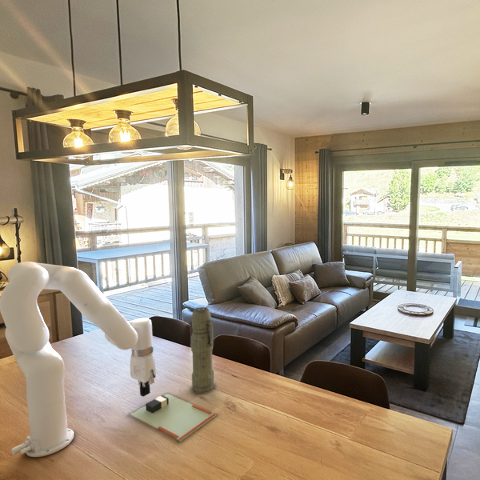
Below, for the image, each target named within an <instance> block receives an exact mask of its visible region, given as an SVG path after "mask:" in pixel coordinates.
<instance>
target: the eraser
mask: <svg viewBox="0 0 480 480" xmlns="http://www.w3.org/2000/svg"><path fill="white" fill-rule="evenodd" d="M168 404H169V400H168V398H167V397H165V396H164V394H162V395H159V396H157V397H156V398H153V399H152V400H150V401H148V402H147V403H145V406H146V410H147V411H149V412H151V413H154V412H156V411H158V410H159V409H161V408H163V407H165V406H166V405H168Z"/></svg>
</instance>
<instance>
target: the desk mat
mask: <svg viewBox="0 0 480 480" xmlns="http://www.w3.org/2000/svg"><path fill="white" fill-rule="evenodd" d="M163 396H165V397H167V398H168V400H169V404H168V405H166V406H165V407H163V408H161V409H159V410H158V411H156V412H154V413H151V412H149V411H147V410H146V405H144V406H142V407H140V408H138V409H137V410H135V411H133V412H131V413H130V416H133V417H134V418H136V419H138V420H140V421H142V422H144V423H146V424H148V425H150V426H152V427H153V428H156V429H157V430H159V431H161V432H163V433H165V434H167V435H169V436H171V437H173V439H175V440H177V441H178V442H182V441H183V440H185V439H186V438H188V437H189V436H190V435H192V434H193V433H194V432H196V431H197V430H198V429H200V428H202V427H203V426H204V425H205V424H207V423H208V422H210V421H211V420H212V419H214V418H216V417H217V414H216V413H213V412H211V411H209V410H208V409H207V410H206V409H205V408H202V407H200V406H198V405H195V404H192V403H190V402H188V401H185V400H183V399H181V398H178V397H177V396H174V395H171V394H169V393H166V394H163Z"/></svg>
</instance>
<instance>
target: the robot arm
mask: <svg viewBox="0 0 480 480" xmlns="http://www.w3.org/2000/svg"><path fill="white" fill-rule="evenodd" d="M7 280H8V282H7V285H6V286H5V287H4V288H3V290H2V292H1V293H0V314H1V317H2V320H3V322H4V325H5V327H6V328H5V330H4V335H5V339H6V341H7V344H8V345H9V348H10V350H11V353H12V355H13V357H14V359H15V361H16V363H17V365H18V367H19V369H20V370H21V372H22V373H23V375H24V378H25V381H26V383H25V384H26V392H25V393H26V394H25V395H26V406H27V413H28V415H27V416H28V425H29V435H28V436H26V440H25V441H23V442H22V443H21V444H19V445H17V446H14V447H13V448H11V451H10V452H11V454H12V456H14V455H16V454H18V453H19V454H20V455H24V454H26V456H28V457H31V458H40V457H41V458H42V457H46V456H50V455H52V454H54V453H57V452H59V451H61V450H62V449H64V448H65V447H67V446H69V444H70V443H71V442H72V441H73V439H74V437H75V433H74V430H73V429H71V428H69V427H68V417H67V406H66V405H67V404H66V393H65V367H66V366H65V362H64V360H63V358H62V357H61V355H60V354H59V353H58V352H57V351H56V350H54V349H53V347H52V346H51V343H50V341H49V340H50V330H49V328H48V326H47V325H46V322H45V321H44V318H43V316H42V313H41V311H40V308H39V305H38V297H39V295H40V293H41V292H42V291H43V290H53V291H54V290H55V291H60V292H61V293H62V294H63V295H64V296H65V297H66V299H68V300H69V302H71V304H72V305H73V306H74V307H75V308H76V309H77V310H78V311H79V312H80V313H81V314H82V316H83V317H84V318H86V320H88V321H89V322H91V323H92V325H95V326H96V327H98V328H99V329H100V330H101V331H102V332H103V333H104V338H105V340H106V341H107V342H109V344H111V345H113V346H114V347H116V348H117V349H119V350H121V351H128V350H130V351H131V353H130V359H129V361H130V363H129V373H130V377H131V379H134V380H136V381H137V383H138V386H139V396H141V397H146V396H148V395H150V394H151V385H153V384H155V378H156V377H157V366H156V360H155V355H154V341H153V324H152V320H151V319H150V318H146V317H145V318H144V317H141V318H136V319H134V320H131V321H128V320H127V318H126V317H124V316H123V315H122V313H121V312H120V311H119V310H118V309H117V308H116V307H115V306H114V305H113V303H112V302H111V301H109V299H108V298H107V297H106V296H105V294H103V292H102V291H101V290H100V289H99V288H98V286H97V285H96V284H95V283H94V281H93V280H92V279H91V278H90V277H89V276H88V275H87V274H86V273H85V272H84V271H83V270H80V269H78V268H75V267H72V266H66V265H58V264H57V265H56V264H50V263H41V262H36V261H35V262H34V261H22V262H18V263H15V264H14V265H12V266H11V267H10V268H9V269H8V272H7Z"/></svg>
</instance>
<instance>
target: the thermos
mask: <svg viewBox="0 0 480 480" xmlns="http://www.w3.org/2000/svg"><path fill="white" fill-rule="evenodd" d="M214 327H215V325H214V323H213V321H212V314H211V311H210V309H209V307H206V306H199V307H197V308H194V309H193V311H192V314H191V319H190V320H189V333H190V338H189V341H190V350H191V354H192V373H191V384H192V391H193V392H194V393H198V394H202V393H207V392H210V391H211V390H213V389H214V388H215V384H214V383H215V371H214V368H213V350H214V344H215V328H214Z"/></svg>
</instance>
